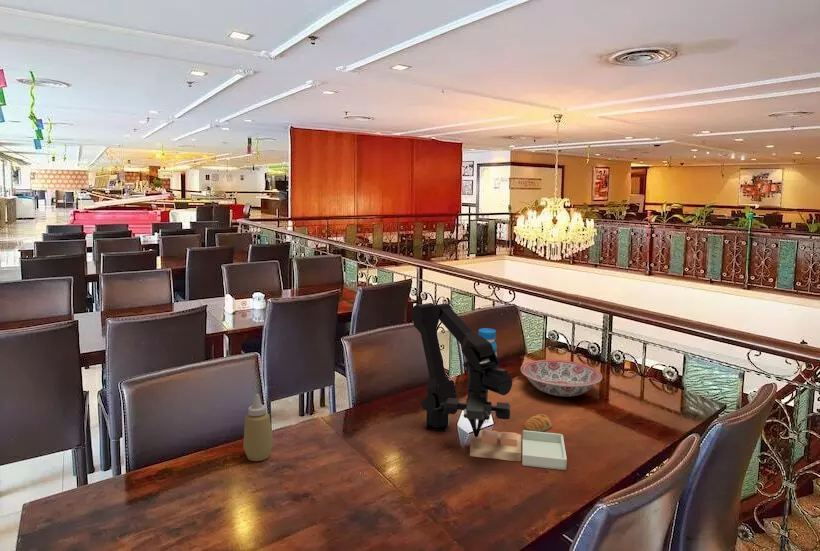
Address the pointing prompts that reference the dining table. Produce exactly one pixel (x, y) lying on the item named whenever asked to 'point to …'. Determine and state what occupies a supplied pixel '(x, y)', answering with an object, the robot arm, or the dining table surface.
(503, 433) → the tile
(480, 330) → the beverage bottle
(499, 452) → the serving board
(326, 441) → the dining table surface
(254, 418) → the squeeze bottle
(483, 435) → the tile
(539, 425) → the pastry
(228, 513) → the dining table surface
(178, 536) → the dining table surface
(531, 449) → the tray
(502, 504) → the dining table surface
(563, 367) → the ceramic bowl
